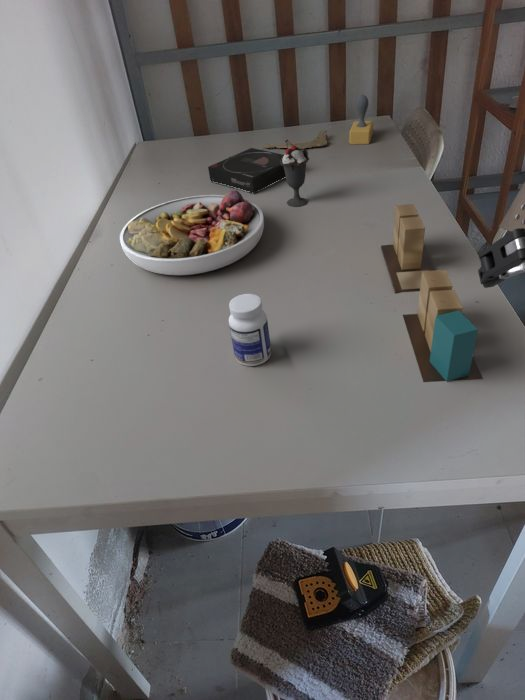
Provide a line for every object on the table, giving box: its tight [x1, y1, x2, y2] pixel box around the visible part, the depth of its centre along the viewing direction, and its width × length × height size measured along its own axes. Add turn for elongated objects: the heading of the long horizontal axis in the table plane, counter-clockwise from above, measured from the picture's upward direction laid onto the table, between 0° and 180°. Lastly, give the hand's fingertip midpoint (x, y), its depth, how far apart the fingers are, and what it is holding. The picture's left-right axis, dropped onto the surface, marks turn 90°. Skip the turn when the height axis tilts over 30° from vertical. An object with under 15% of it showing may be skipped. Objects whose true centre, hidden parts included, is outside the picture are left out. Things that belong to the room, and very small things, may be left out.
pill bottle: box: [228, 293, 272, 367], centre depth 77 cm, size 6×6×10 cm
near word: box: [402, 269, 484, 383], centre depth 75 cm, size 8×16×9 cm, turn 178°
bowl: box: [119, 189, 265, 276], centre depth 108 cm, size 30×30×8 cm
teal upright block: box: [430, 311, 479, 382], centre depth 70 cm, size 3×5×8 cm
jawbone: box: [262, 129, 329, 150], centre depth 153 cm, size 9×20×2 cm, turn 105°
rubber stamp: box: [349, 94, 374, 145], centre depth 150 cm, size 10×6×12 cm, turn 165°
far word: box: [380, 203, 435, 295], centre depth 92 cm, size 8×17×9 cm, turn 178°
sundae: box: [280, 139, 310, 208], centre depth 118 cm, size 7×7×15 cm
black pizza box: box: [207, 147, 286, 194], centre depth 137 cm, size 16×17×4 cm
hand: (524, 272), depth 52 cm, fingers open, 8 cm apart
